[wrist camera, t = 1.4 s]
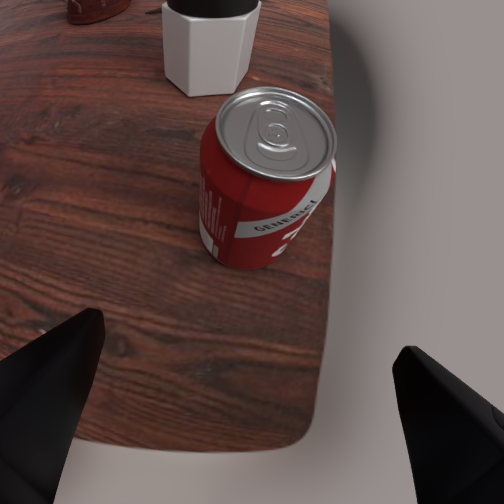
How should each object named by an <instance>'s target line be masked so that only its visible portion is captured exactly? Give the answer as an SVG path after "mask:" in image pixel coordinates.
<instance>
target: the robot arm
mask: <svg viewBox="0 0 504 504" xmlns="http://www.w3.org/2000/svg"><path fill="white" fill-rule="evenodd" d="M104 341H105V325H104V318H103V313H102V311H101V310H99V309H94V308H87V309H85V310H83V311H81V312H80V313H78V314H76V315H75V316H73V317H71V318H70V319H68V320H66V321H65V322H63V323H61V324H60V325H58V326H56V327H55V328H53V329H51V330H50V331H48V332H46V333H45V334H43V335H41V336H40V337H38V338H37V339H35V340H33V341H32V342H30V343H28V344H27V345H25V346H24V347H22V348H20V349H19V350H17V351H16V352H14V353H12V354H11V355H9V356H8V357H6V358H4V359H3V360H1V361H0V504H53V502H54V499H55V495H56V491H57V488H58V484H59V481H60V477H61V474H62V470H63V467H64V464H65V461H66V457H67V454H68V451H69V448H70V445H71V442H72V439H73V436H74V433H75V430H76V428H77V425H78V422H79V419H80V416H81V414H82V411H83V408H84V405H85V403H86V400H87V397H88V395H89V392H90V390H91V387H92V384H93V380H94V377H95V373H96V369H97V366H98V362H99V358H100V355H101V351H102V348H103V344H104ZM392 372H393V378H394V384H395V390H396V397H397V404H398V410H399V414H400V419H401V423H402V427H403V431H404V435H405V440H406V445H407V449H408V454H409V459H410V464H411V469H412V474H413V479H414V485H415V490H416V497H417V503H418V504H504V414H503V413H502V412H501V411H500V410H498V409H497V408H496V407H495V406H493V405H492V404H490V403H489V402H488V401H487V400H486V399H484V398H483V397H482V396H481V395H479V394H478V393H477V392H475V391H474V390H473V389H472V388H470V387H469V386H468V385H466V384H465V383H464V382H462V381H461V380H460V379H459V378H457V377H456V376H455V375H454V374H452V373H451V372H449V371H448V370H447V369H446V368H444V367H443V366H442V365H441V364H439V363H438V362H437V361H435V360H434V359H433V358H431V357H430V356H429V355H427V354H426V353H425V352H424V351H422V350H421V349H420V348H418V347H417V346H405V347H404V348H403V349H402V350H401V352H400V354H399V355H398V357H397V359H396V360H395V362H394V364H393V367H392Z"/></svg>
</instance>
